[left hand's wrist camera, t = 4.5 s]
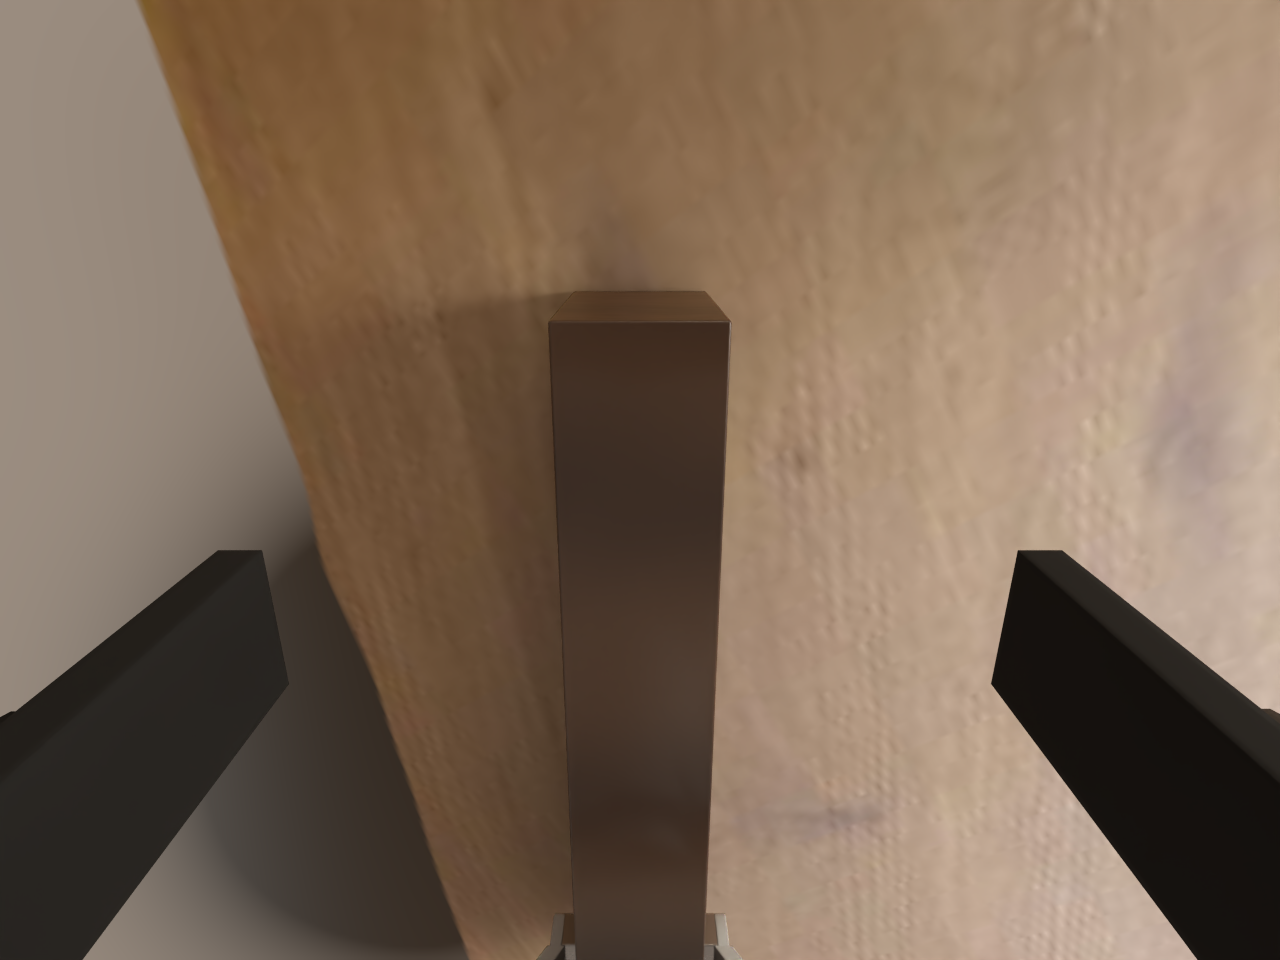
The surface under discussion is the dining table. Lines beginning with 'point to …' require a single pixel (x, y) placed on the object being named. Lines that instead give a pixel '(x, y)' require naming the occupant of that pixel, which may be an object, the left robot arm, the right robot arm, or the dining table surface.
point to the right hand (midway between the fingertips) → (640, 922)
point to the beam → (639, 607)
